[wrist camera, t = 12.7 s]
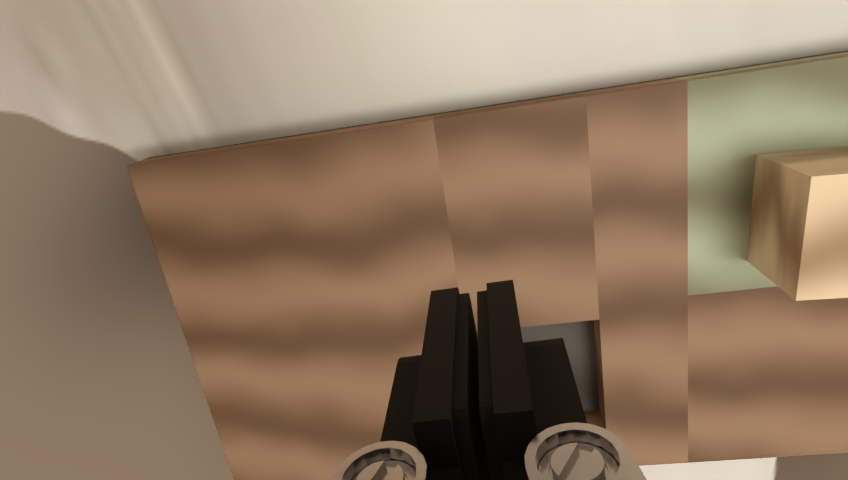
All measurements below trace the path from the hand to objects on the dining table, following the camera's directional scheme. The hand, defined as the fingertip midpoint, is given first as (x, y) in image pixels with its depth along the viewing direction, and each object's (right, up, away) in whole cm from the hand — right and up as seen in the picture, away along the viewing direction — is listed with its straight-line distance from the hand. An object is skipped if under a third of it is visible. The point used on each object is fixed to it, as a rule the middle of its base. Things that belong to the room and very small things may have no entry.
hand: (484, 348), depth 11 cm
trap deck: (+9, -1, +23) cm, 25 cm away
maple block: (+19, +4, +18) cm, 27 cm away
